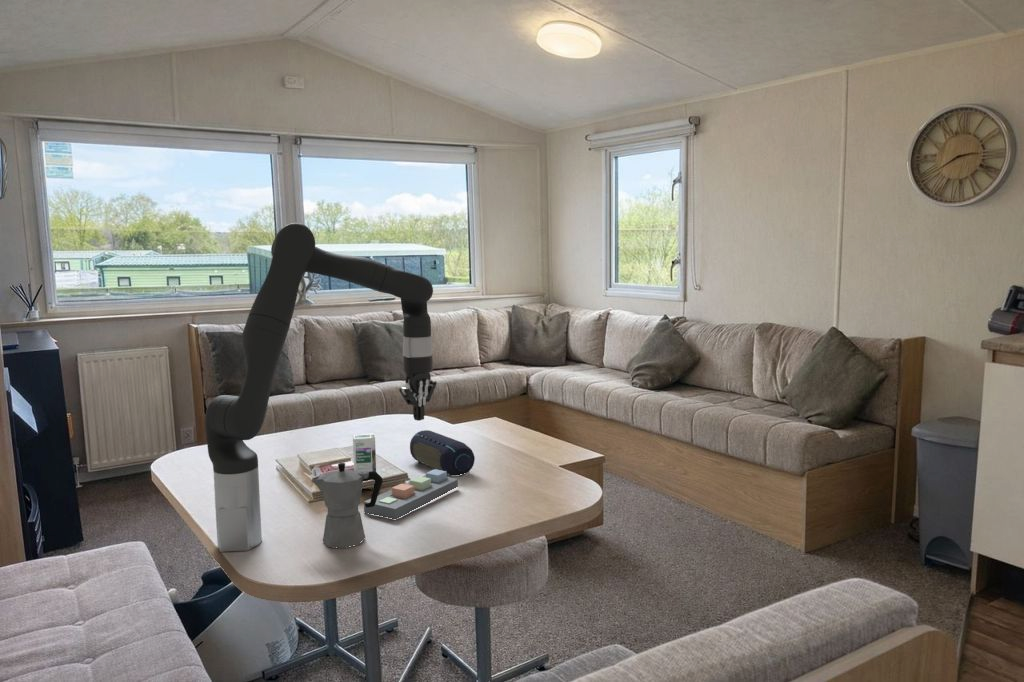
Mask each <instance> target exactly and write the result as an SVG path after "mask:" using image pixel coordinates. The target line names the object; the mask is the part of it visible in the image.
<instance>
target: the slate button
mask: <svg viewBox="0 0 1024 682" xmlns="http://www.w3.org/2000/svg"><path fill="white" fill-rule="evenodd" d="M425 475H426V478H431V482H434V483H440V482H442V481H444V480H447V477H448V474H447V471H442V470H437V469H435V468H433V469H432V470H429V471H428V472H426V473H425Z"/></svg>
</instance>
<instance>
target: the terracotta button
mask: <svg viewBox="0 0 1024 682" xmlns="http://www.w3.org/2000/svg"><path fill="white" fill-rule="evenodd" d="M391 490H392V496H394V497H398V498H402V499H405V498H407V497H410V496H412V495H414V486H412V485H407V484H406V483H400V484H397V485H395V486H392V487H391Z"/></svg>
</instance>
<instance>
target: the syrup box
mask: <svg viewBox="0 0 1024 682" xmlns="http://www.w3.org/2000/svg"><path fill="white" fill-rule="evenodd" d="M352 448H353V449H352V451H353V470H354V471H359V472H371V471H375V472H377V455H376V437H375V434H374V432H372V433H360V434H352ZM372 480H373V479H372Z"/></svg>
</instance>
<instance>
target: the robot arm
mask: <svg viewBox="0 0 1024 682" xmlns="http://www.w3.org/2000/svg"><path fill="white" fill-rule="evenodd" d="M270 253H271V256H272V258H271V262H270V266H269V269H268V271H267V274H266V277H265V280H264V281H263V283H262V286H261V287H260V289H259V291H258V293H257V295H256V297H255V299H254V301H253V302H252V306H251V307H250V310H249V313H248V316H247V319H246V322H245V325H244V328H243V330H242V335H241V344H242V351H243V357H244V360H245V365H246V366H245V367H246V374H245V378H244V383H243V385H242V386H243V387H242V389H241V392H240V394H239V396H238V395H229V394H228V395H227V394H223V395H222V394H221V395H218V396H216V397H213V399H211V401H210V402H209V404H208V405H207V407H206V412H205V416H204V417H205V418H204V421H205V422H204V426H205V427H204V428H205V436H206V445H207V454H208V457H209V459H210V461H211V463H212V468H213V469H212V470H213V485H214V486H213V487H214V503H215V505H214V506H215V522H216V524H215V525H216V539H217V548H218V549H219V552H220V553H221V552H243V551H250V550H251V549H253V548H254V547H256V546H258V545H259V544H261V542H262V540H263V537H262V536H263V535H262V519H261V517H262V516H261V514H262V513H261V500H260V499H261V496H260V495H261V494H260V474H259V473H260V472H259V457H258V454H257V453H256V452H255V450H253V449H251V448H250V447H249V446H248V445H247V444H246V443H245V441H249V440H252V439H253V438H255V437H256V436H257V435H258V434H259V432H260V430H261V429H262V427H263V425H264V422H265V419H266V414H267V410H268V405H269V400H270V395H271V391H272V390H271V389H272V385H273V381H274V377H275V374H276V370H277V367H278V363H279V360H280V357H281V354H282V351H283V348H284V346H285V342H286V339H287V337H288V334H289V330H290V326H291V323H292V319H293V315H294V312H295V307H296V303H297V298H298V293H299V288H300V285H301V282H302V278H303V277H304V273H309V274H315V275H320V276H324V277H329V278H334V279H337V280H341V281H345V282H348V283H350V284H351V283H352V284H355V285H358V286H360V287H364V288H366V289H370V290H373V291H375V292H378V293H382V294H388V295H392V296H395V297H396V298H399V299H400V304H401V310H402V316H403V321H402V322H403V324H402V325H403V326H402V327H403V329H402V332H403V340H402V367H403V369H402V371H403V372H404V373H405V375H406V377H405V380H404V382H405V384H404V385H403V387H399V391H398V392H399V393H400V394H401V396H402V398H403V399H404V401H405V403H406V404H407V405H410V406H412V407H413V408H412V409H413V410H412V411H413V416H412V417H413V419H414V421H423V420H424V419H425V406H426V404H427V403H428V402H430V401H431V399H432V396H433V393H434V392H435V388H436V386H437V381H436V380H432V379H431V374H430V373H432V372H433V370H434V369H433V368H434V367H433V364H434V363H433V342H432V341H433V340H432V321H431V317H430V314H429V313H428V302H429V301H430V300H431V298H432V297H433V294H434V287H433V285H432V282H431V281H430V280H429V279H427V277H425V276H421V275H419V274H415V273H413V272H408V271H405V270H400V269H398V268H395V267H393V266H390V264H389V265H388V264H386V263H383V262H381V261H377V260H375V259H372V258H367V257H363V256H356V255H349V254H340V253H335V252H331V251H327V250H325V249H322V248H319V247H317V246H316V238H315V236H314V233H313V232H312V230H311V229H310V228H309V227H308V226H307V225H306V224H303V223H300V222H293V223H292V222H291V223H288V224H287V225H285V226H283V227H282V228H280V229H279V230H278V231H277V233H276V235H275V236H274V238H273V242H272V244H271V247H270Z"/></svg>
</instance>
